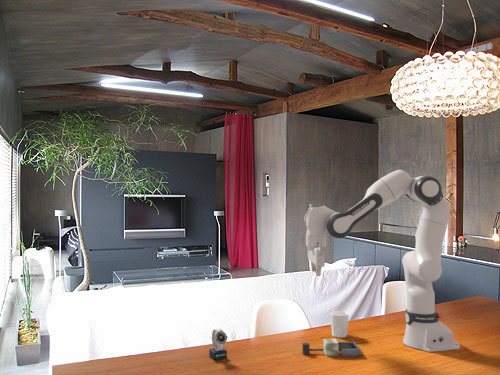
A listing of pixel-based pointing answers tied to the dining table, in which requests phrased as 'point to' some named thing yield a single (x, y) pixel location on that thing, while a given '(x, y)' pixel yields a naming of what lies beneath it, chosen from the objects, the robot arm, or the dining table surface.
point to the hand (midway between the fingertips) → (315, 273)
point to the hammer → (328, 347)
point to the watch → (218, 345)
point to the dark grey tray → (349, 349)
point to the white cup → (339, 323)
